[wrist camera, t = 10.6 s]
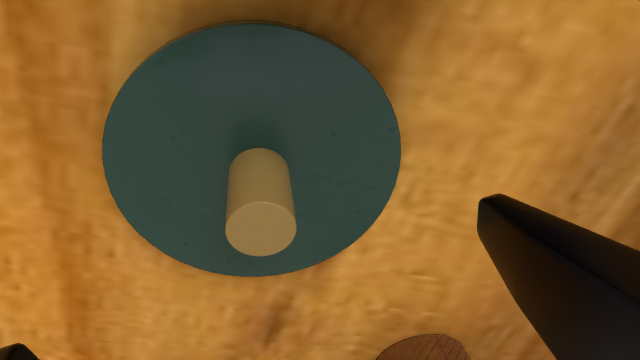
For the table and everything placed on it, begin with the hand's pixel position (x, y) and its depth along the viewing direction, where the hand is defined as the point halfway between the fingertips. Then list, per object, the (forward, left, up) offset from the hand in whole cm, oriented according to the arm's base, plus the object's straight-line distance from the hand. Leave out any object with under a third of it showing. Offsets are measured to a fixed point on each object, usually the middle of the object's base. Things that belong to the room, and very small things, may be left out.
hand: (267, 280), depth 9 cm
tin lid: (-3, 0, -10) cm, 10 cm away
